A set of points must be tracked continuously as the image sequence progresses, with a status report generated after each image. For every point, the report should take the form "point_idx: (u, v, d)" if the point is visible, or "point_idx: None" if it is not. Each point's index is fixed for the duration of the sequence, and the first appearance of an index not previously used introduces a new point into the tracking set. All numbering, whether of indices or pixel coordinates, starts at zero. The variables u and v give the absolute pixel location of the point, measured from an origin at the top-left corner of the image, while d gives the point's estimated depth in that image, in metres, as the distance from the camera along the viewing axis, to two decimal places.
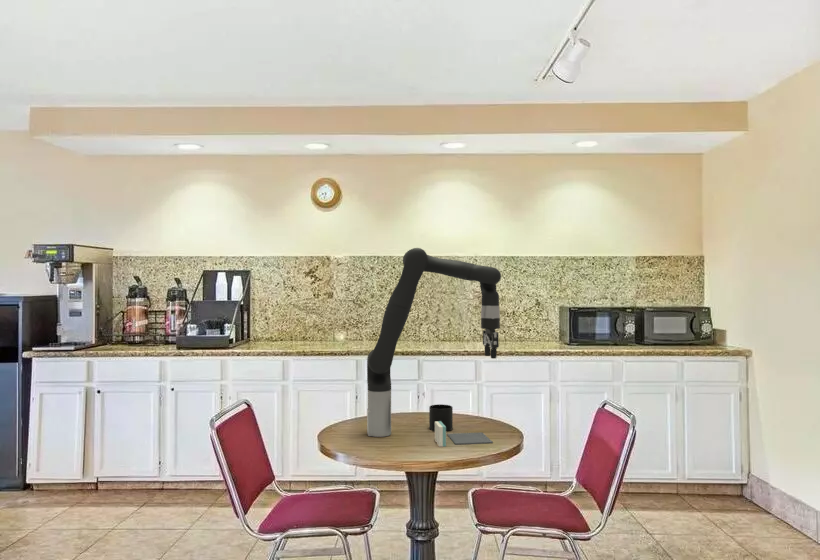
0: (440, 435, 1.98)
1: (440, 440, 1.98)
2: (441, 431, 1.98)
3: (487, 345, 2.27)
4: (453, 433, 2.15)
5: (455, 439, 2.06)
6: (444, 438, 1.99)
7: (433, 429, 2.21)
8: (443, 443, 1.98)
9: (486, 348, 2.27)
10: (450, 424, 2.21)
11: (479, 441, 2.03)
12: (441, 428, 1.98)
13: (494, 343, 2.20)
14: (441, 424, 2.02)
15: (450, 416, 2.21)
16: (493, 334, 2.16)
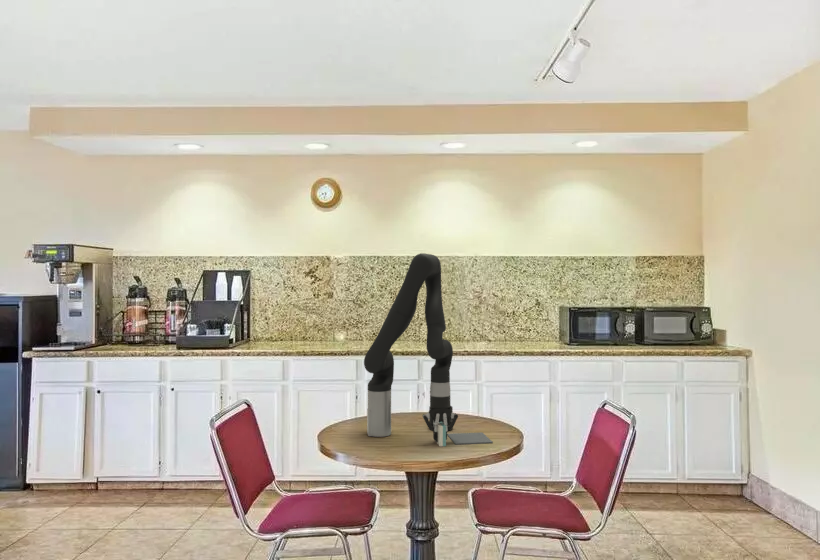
0: (440, 435, 1.98)
1: (440, 440, 1.98)
2: (441, 431, 1.98)
3: None
4: (453, 433, 2.15)
5: (455, 439, 2.06)
6: (444, 438, 1.99)
7: None
8: (443, 443, 1.98)
9: (437, 433, 2.02)
10: None
11: (479, 441, 2.03)
12: (441, 428, 1.99)
13: None
14: (441, 424, 2.03)
15: (450, 416, 2.21)
16: None
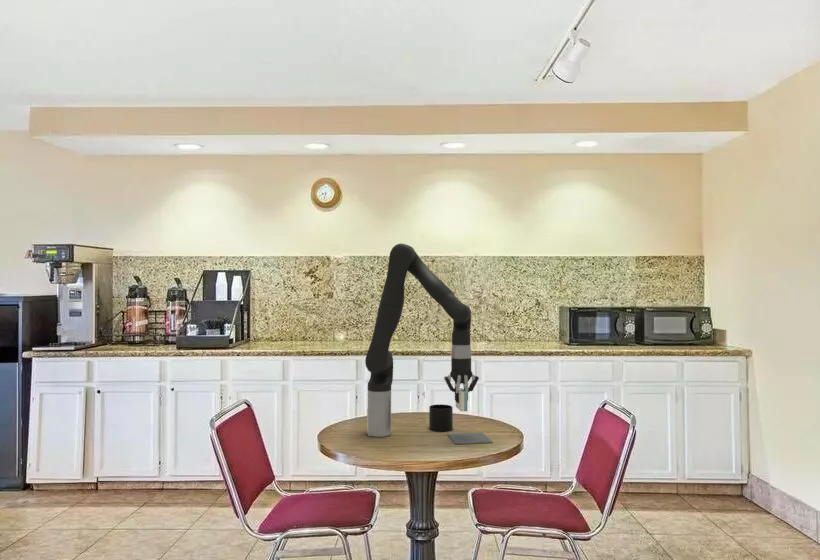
0: (462, 400, 2.04)
1: (462, 405, 2.04)
2: (463, 396, 2.04)
3: None
4: (453, 433, 2.15)
5: (455, 439, 2.06)
6: (465, 403, 2.04)
7: (433, 429, 2.21)
8: (465, 408, 2.04)
9: None
10: (450, 424, 2.21)
11: (479, 441, 2.03)
12: (463, 393, 2.04)
13: None
14: (462, 390, 2.08)
15: (450, 416, 2.21)
16: None
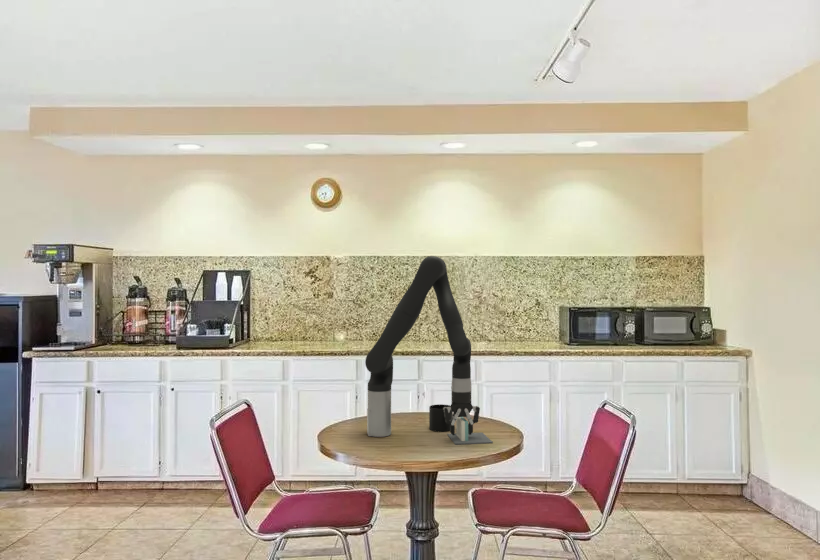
0: (462, 430, 2.04)
1: (462, 435, 2.04)
2: (463, 426, 2.04)
3: None
4: None
5: (455, 439, 2.06)
6: (466, 433, 2.04)
7: (433, 429, 2.21)
8: (465, 438, 2.04)
9: None
10: None
11: (479, 441, 2.03)
12: (463, 423, 2.04)
13: None
14: (463, 419, 2.08)
15: (450, 416, 2.21)
16: None
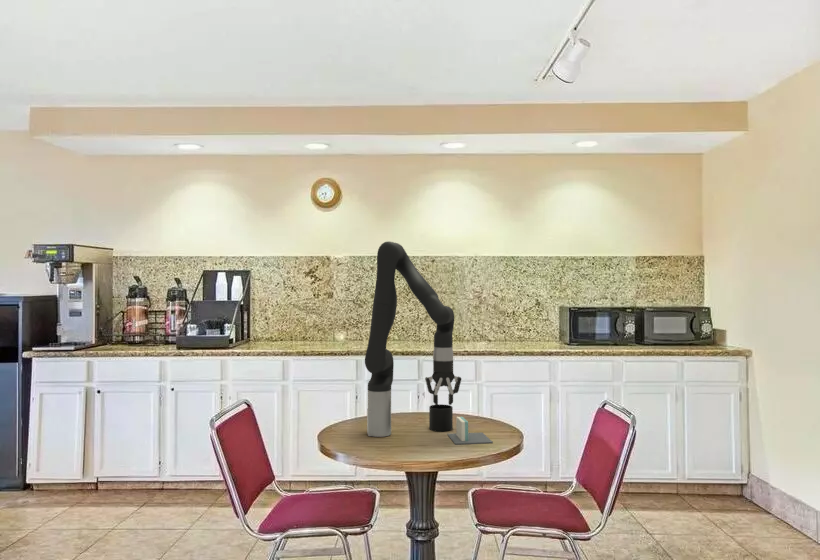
0: (462, 430, 2.04)
1: (462, 435, 2.04)
2: (463, 426, 2.04)
3: (436, 393, 2.07)
4: (453, 433, 2.15)
5: (455, 439, 2.06)
6: (466, 433, 2.04)
7: (433, 429, 2.21)
8: (465, 438, 2.04)
9: (437, 396, 2.07)
10: (450, 424, 2.21)
11: (479, 441, 2.03)
12: (463, 423, 2.04)
13: None
14: (463, 419, 2.08)
15: (450, 416, 2.21)
16: None
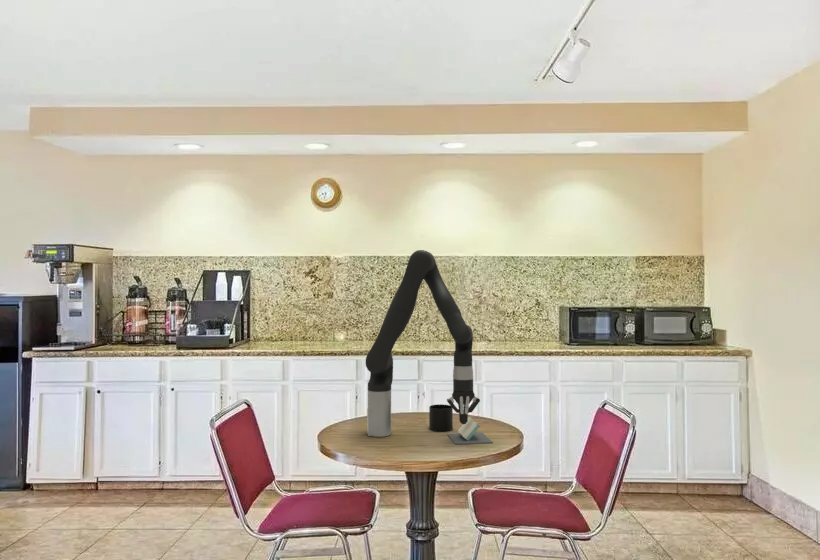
0: (471, 429, 2.04)
1: (468, 432, 2.04)
2: (474, 426, 2.04)
3: None
4: (453, 433, 2.15)
5: (455, 439, 2.06)
6: (472, 433, 2.04)
7: (433, 429, 2.21)
8: (468, 437, 2.04)
9: None
10: (450, 424, 2.21)
11: (479, 441, 2.03)
12: (476, 424, 2.04)
13: None
14: None
15: (450, 416, 2.21)
16: None
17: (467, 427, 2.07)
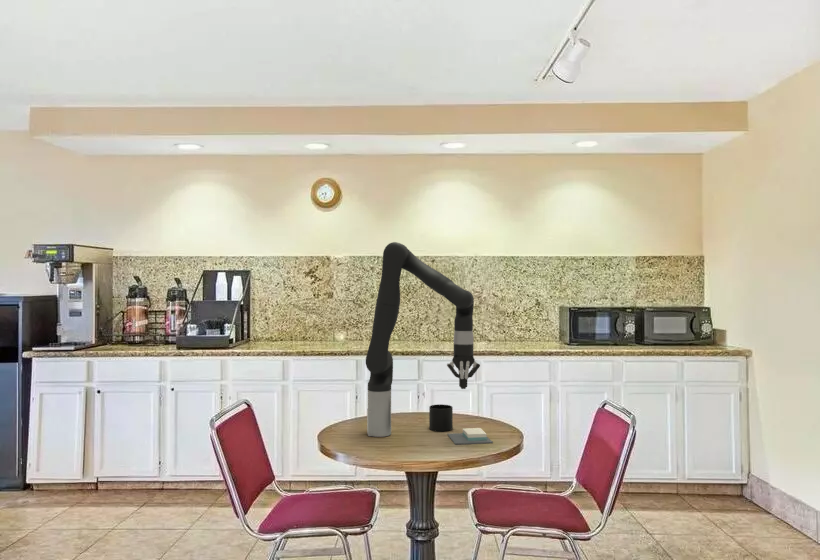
0: (478, 435, 2.04)
1: (474, 435, 2.04)
2: (482, 435, 2.05)
3: None
4: (453, 433, 2.15)
5: (455, 439, 2.06)
6: (475, 439, 2.04)
7: (433, 429, 2.21)
8: (471, 438, 2.04)
9: None
10: (450, 424, 2.21)
11: (479, 441, 2.03)
12: (485, 435, 2.05)
13: (465, 372, 2.10)
14: None
15: (450, 416, 2.21)
16: None
17: (475, 432, 2.07)
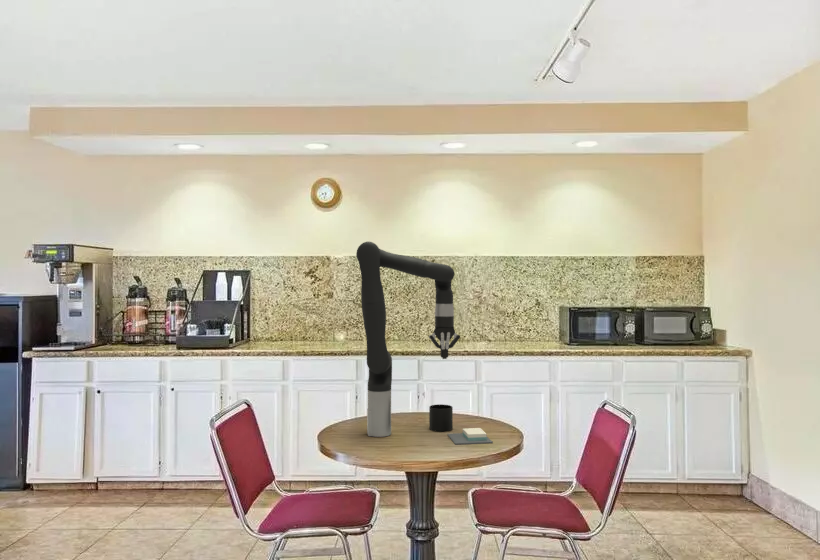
0: (478, 435, 2.04)
1: (474, 435, 2.04)
2: (482, 435, 2.05)
3: (443, 347, 2.20)
4: (453, 433, 2.15)
5: (455, 439, 2.06)
6: (475, 439, 2.04)
7: (433, 429, 2.21)
8: (471, 438, 2.04)
9: None
10: (450, 424, 2.21)
11: (479, 441, 2.03)
12: (485, 435, 2.05)
13: (446, 343, 2.21)
14: None
15: (450, 416, 2.21)
16: None
17: (475, 432, 2.07)
